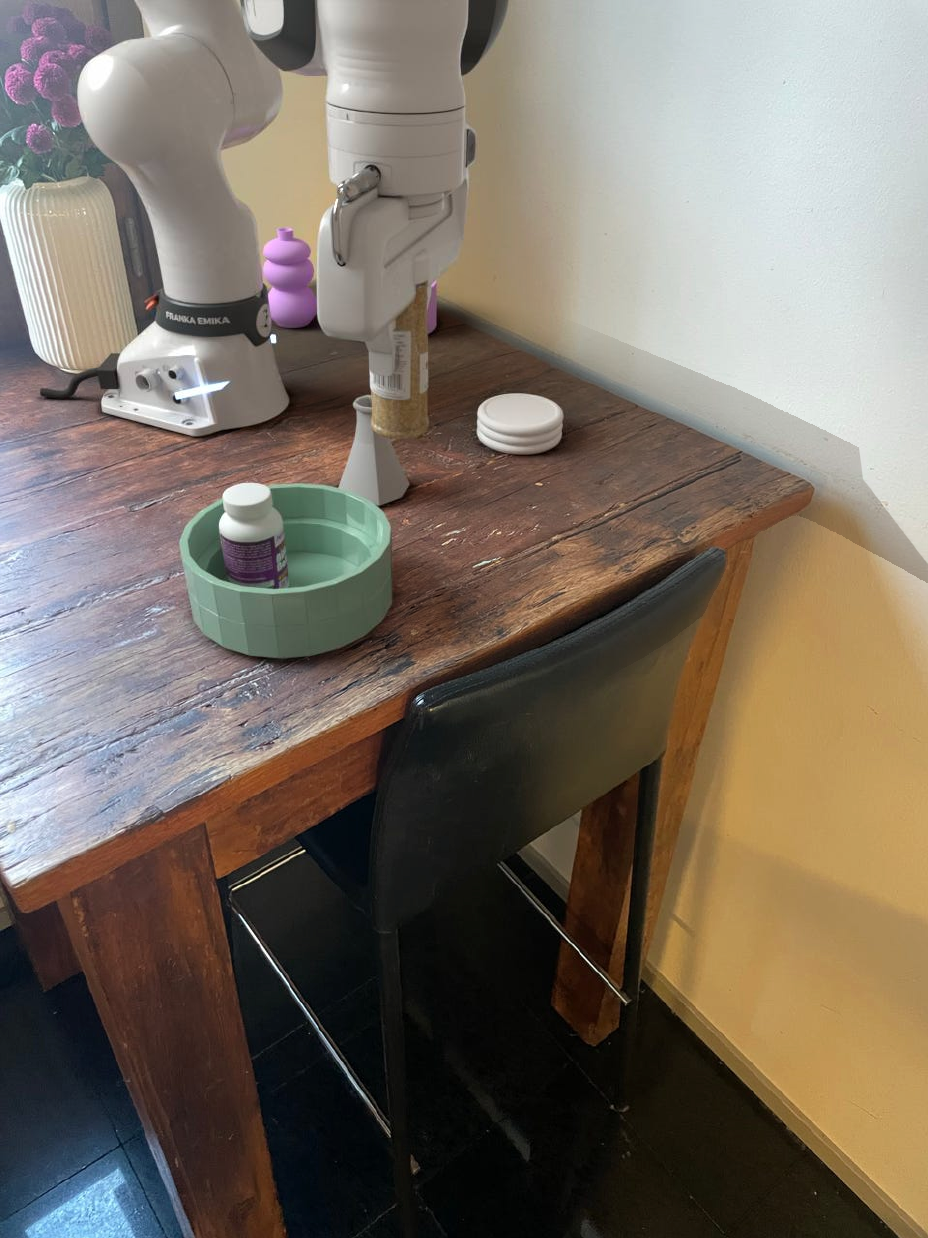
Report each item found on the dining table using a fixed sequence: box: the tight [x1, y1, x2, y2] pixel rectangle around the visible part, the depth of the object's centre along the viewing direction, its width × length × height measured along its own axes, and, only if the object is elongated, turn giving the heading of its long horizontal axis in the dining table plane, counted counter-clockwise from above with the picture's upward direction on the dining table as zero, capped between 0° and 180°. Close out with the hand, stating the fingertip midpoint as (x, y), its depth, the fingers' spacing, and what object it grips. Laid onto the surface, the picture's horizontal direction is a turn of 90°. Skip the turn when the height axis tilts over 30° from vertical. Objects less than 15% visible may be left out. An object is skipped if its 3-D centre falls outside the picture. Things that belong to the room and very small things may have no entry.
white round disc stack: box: [476, 392, 564, 456], centre depth 109 cm, size 10×10×4 cm
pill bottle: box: [219, 482, 289, 589], centre depth 80 cm, size 5×5×10 cm
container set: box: [262, 227, 437, 335], centre depth 135 cm, size 25×15×13 cm, turn 91°
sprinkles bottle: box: [369, 249, 430, 440], centre depth 68 cm, size 5×5×13 cm
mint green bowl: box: [178, 482, 394, 659], centre depth 81 cm, size 17×18×7 cm
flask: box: [338, 394, 410, 507], centre depth 96 cm, size 7×7×10 cm
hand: (398, 357), depth 69 cm, fingers closed on sprinkles bottle, 4 cm apart
